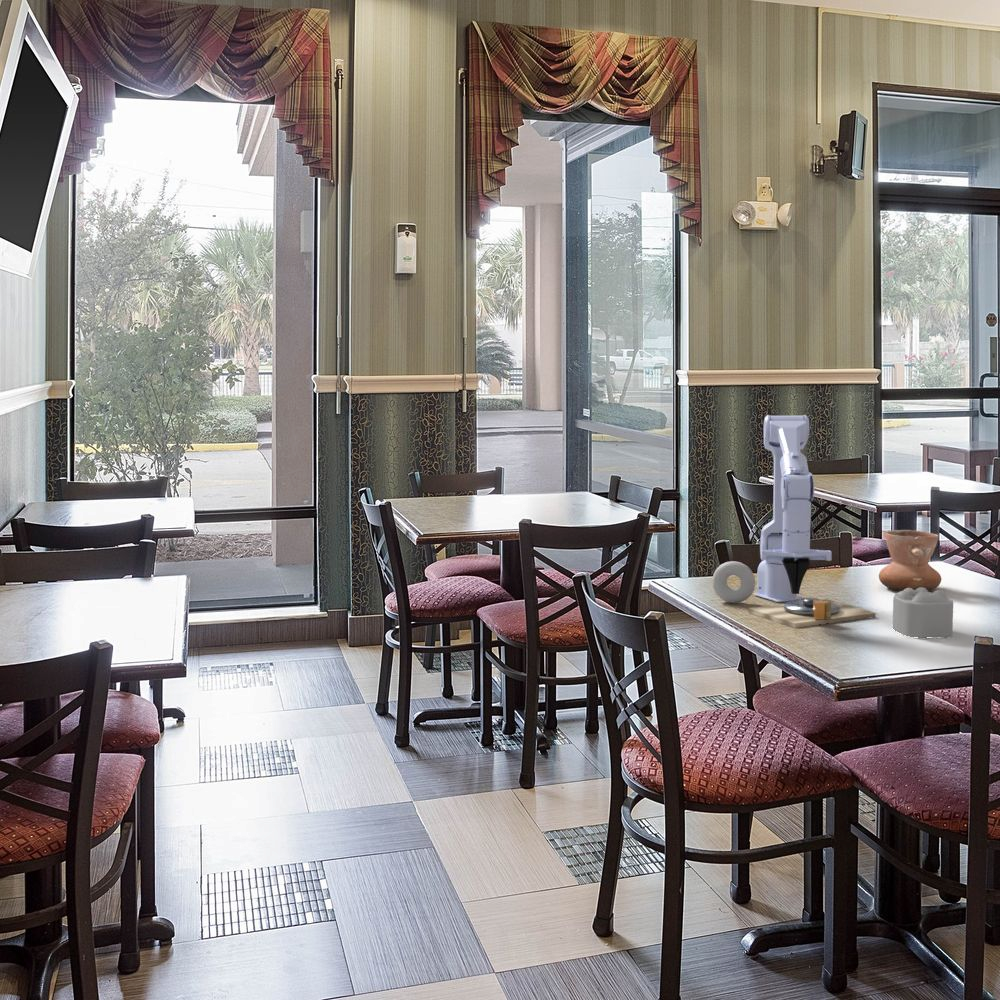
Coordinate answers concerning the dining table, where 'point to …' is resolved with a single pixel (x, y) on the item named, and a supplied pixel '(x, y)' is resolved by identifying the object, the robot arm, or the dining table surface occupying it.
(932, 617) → the lumpy-topped squat cylinder
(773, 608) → the board
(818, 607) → the flange plate
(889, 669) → the dining table surface
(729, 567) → the donut
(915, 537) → the ceramic jug
